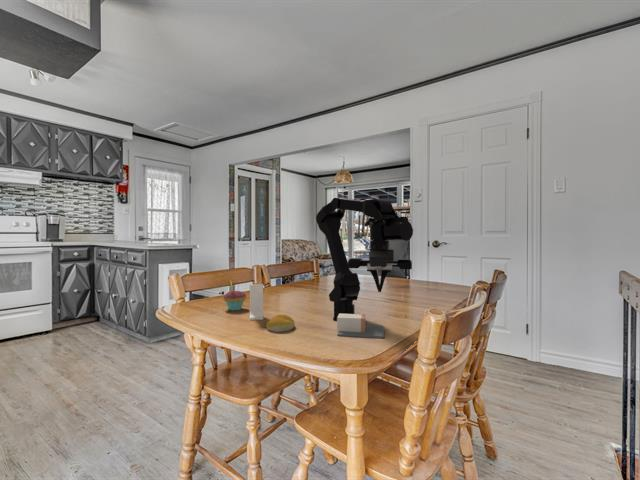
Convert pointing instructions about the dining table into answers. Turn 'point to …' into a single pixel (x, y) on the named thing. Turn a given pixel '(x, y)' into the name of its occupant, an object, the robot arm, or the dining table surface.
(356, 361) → the dining table surface
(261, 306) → the light gray rectangular block
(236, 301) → the cupcake
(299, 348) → the dining table surface
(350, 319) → the tall block
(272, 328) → the bread roll
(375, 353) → the dining table surface
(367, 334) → the rubber mat
